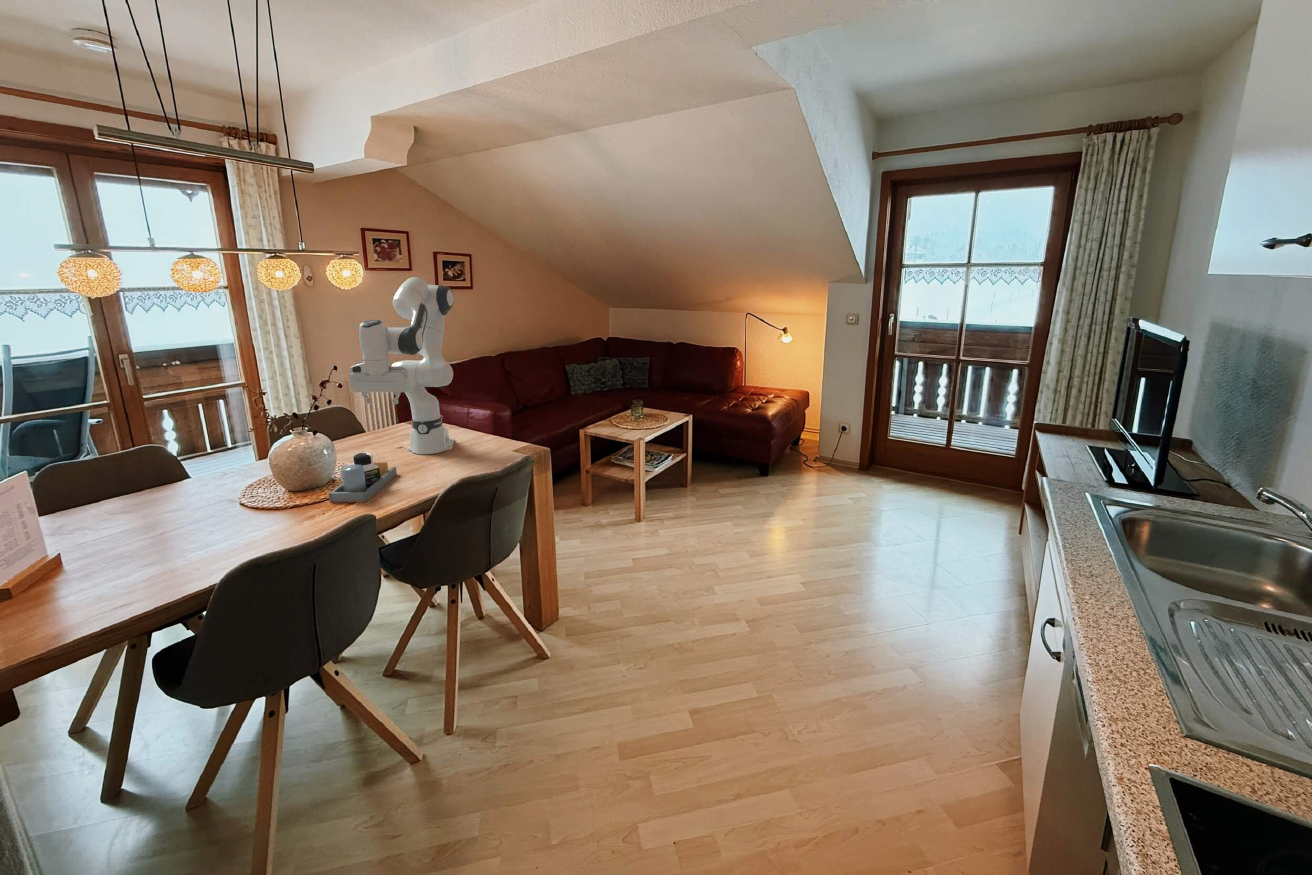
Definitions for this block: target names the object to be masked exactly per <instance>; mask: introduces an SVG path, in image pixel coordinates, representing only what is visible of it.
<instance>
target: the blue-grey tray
mask: <svg viewBox="0 0 1312 875" xmlns="http://www.w3.org/2000/svg"><path fill="white" fill-rule="evenodd" d="M397 471H398V470H397V467H396V466H392V467H391V468H390V469H388V471H387V472H386V473H385V474H384V475H383V476H382V477H381V478H380V479H378V480H377V481H376V482H375V483H374V484H373V485H372V486H370V487H369V488H368V489H367V490H366V491H365V492H344V490H343V483H342V482H341V483H340V484H339V485H337V486H336V487H335V488H334V489H332V490H331V491H330V492H328V498H329V499H328V500H329V502H330V503H344V502H345V503H348V502H349V503H351V502H352V503H354V502H358V503H359V502H361V503H362V502H363V503H365V502H369V501H370V500H372V498H373V497H374V496H376V495H377V493H379V492H380V491H381V490H382V489H383V488H384V487H385V486H386V485H387V484H388V483H390V482H391V481H392V480H393V478H395V476H397V475H398V472H397Z"/></svg>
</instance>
